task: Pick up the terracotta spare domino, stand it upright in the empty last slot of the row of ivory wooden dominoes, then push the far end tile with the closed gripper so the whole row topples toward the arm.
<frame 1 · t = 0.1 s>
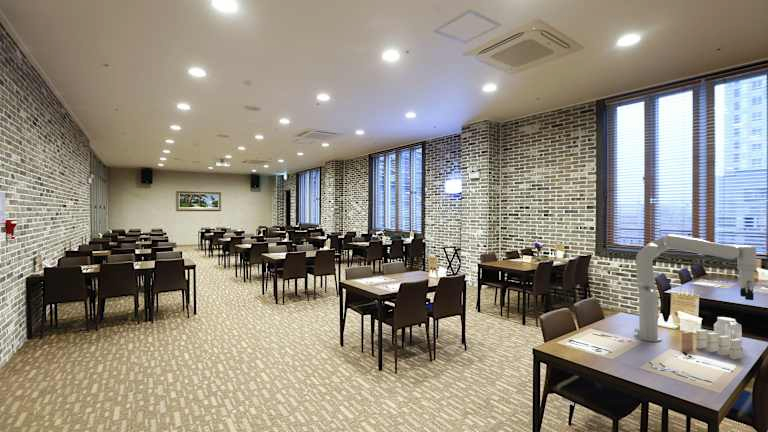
hand: (746, 298, 205), 31 cm above the table, tool pointing down, fingers open, 9 cm apart
domino 1: (735, 357, 198), on the table
spare domino: (687, 349, 211), on the table
beer glass: (733, 349, 211), on the table
domino 2: (723, 354, 204), on the table
domino 4: (701, 347, 214), on the table
domino 3: (712, 350, 209), on the table
jar: (726, 343, 221), on the table
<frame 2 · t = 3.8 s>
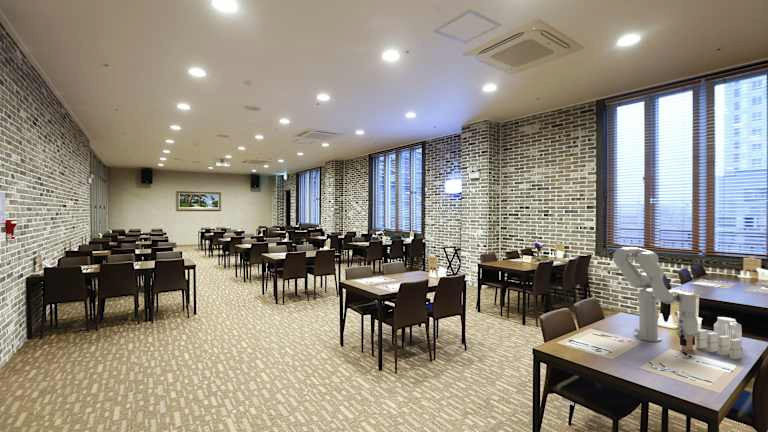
hand: (687, 344, 211), 3 cm above the table, tool pointing down, fingers closed on spare domino, 6 cm apart
spare domino: (687, 349, 211), on the table, touching gripper
everything else where it was.
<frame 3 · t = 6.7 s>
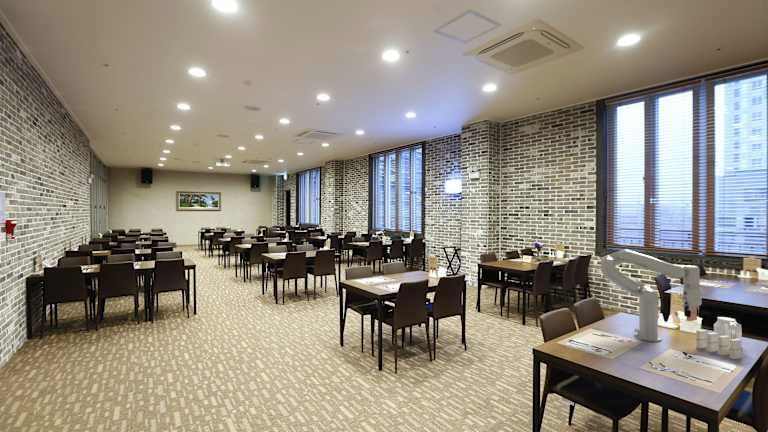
hand: (691, 315, 219), 17 cm above the table, tool pointing down, fingers closed on spare domino, 6 cm apart
spare domino: (691, 320, 219), point 15 cm above the table, touching gripper
everything else where it was.
when the fingers open (4 cm above the table, at t = 9.6 s): spare domino stays where it is, on the table.
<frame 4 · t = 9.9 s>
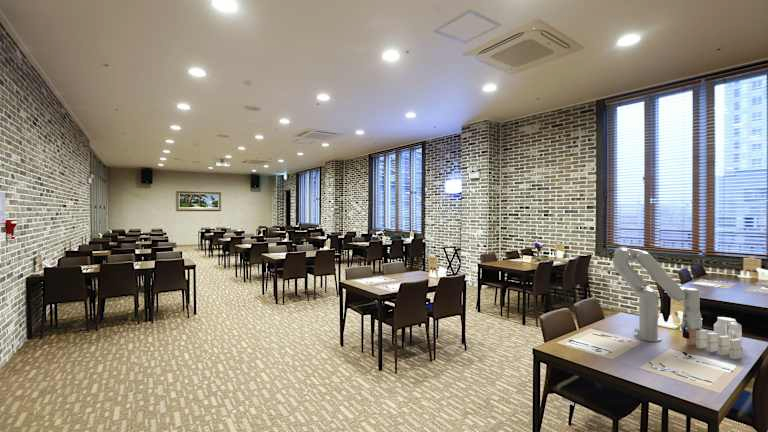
hand: (691, 337, 219), 4 cm above the table, tool pointing down, fingers open, 9 cm apart
spare domino: (691, 344, 219), on the table
everything else where it was.
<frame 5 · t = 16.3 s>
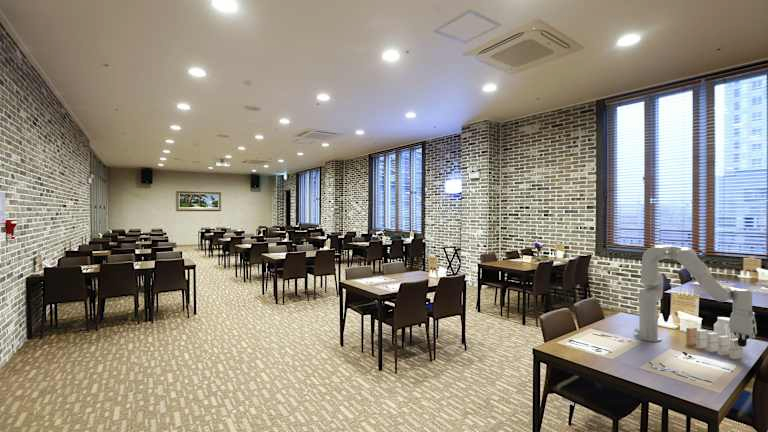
hand: (742, 346, 195), 7 cm above the table, tool pointing down, fingers closed
domino 1: (735, 357, 198), on the table, touching gripper
everything else where it was.
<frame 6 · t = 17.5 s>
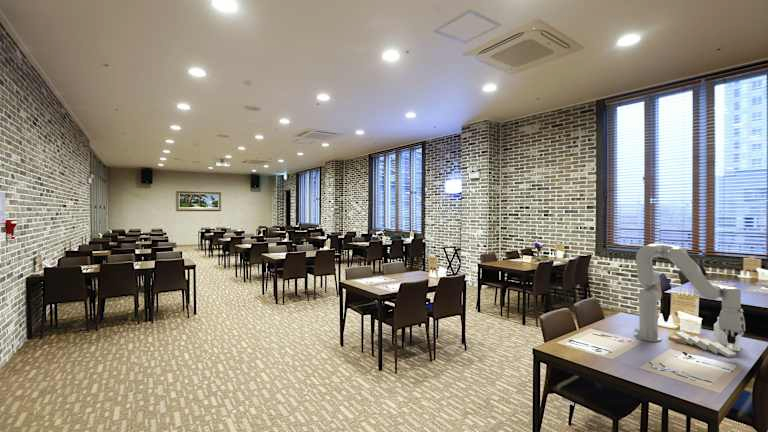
hand: (731, 342, 200), 8 cm above the table, tool pointing down, fingers closed
domino 1: (732, 355, 200), point 1 cm above the table, tilted 71°, touching domino 2
spare domino: (689, 342, 221), point 1 cm above the table, tilted 90°, touching domino 4
domino 2: (720, 351, 205), point 1 cm above the table, tilted 71°, touching domino 1, domino 3
domino 4: (695, 343, 217), point 1 cm above the table, tilted 72°, touching domino 3, spare domino
domino 3: (709, 348, 210), point 1 cm above the table, tilted 72°, touching domino 2, domino 4
everything else where it was.
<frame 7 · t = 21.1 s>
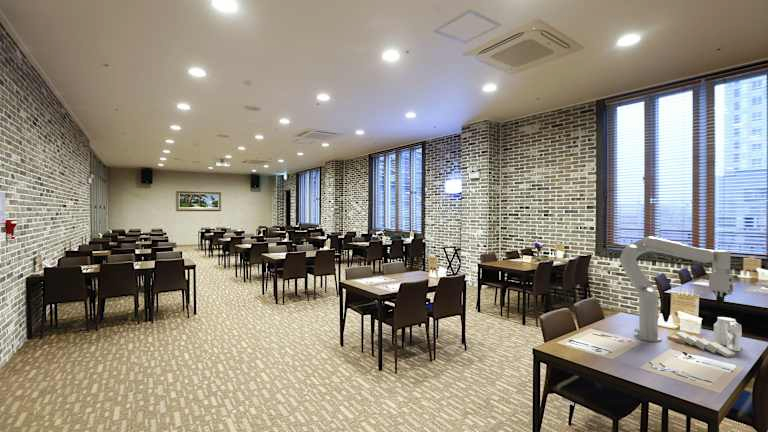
hand: (720, 303, 211), 27 cm above the table, tool pointing down, fingers closed
domino 1: (731, 355, 200), point 1 cm above the table, tilted 72°
domino 2: (718, 351, 206), point 1 cm above the table, tilted 71°, touching domino 3
domino 3: (707, 348, 211), point 1 cm above the table, tilted 71°, touching domino 2, domino 4
everything else where it was.
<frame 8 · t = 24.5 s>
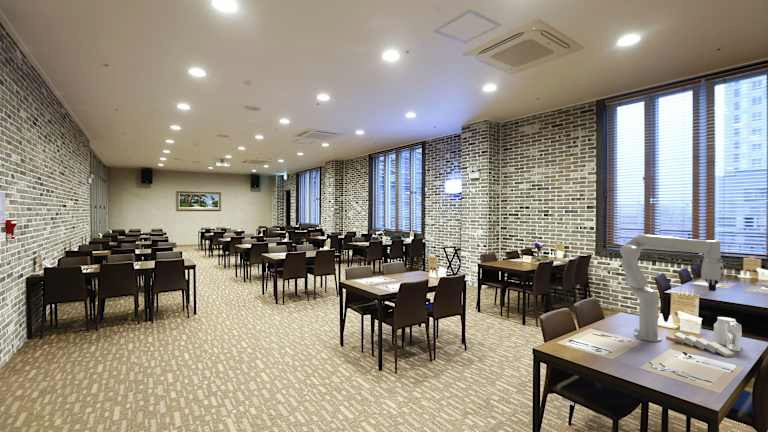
hand: (712, 290, 220), 32 cm above the table, tool pointing down, fingers closed
domino 1: (730, 354, 200), point 1 cm above the table, tilted 72°, touching domino 2
domino 2: (718, 351, 206), point 1 cm above the table, tilted 71°, touching domino 1, domino 3
domino 4: (695, 343, 217), point 1 cm above the table, tilted 72°, touching domino 3, spare domino
at the end: domino 1 tilted 72°; spare domino tilted 90°; spare domino inside the target area (2.2 cm from its centre), point 0.7 cm above the table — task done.
